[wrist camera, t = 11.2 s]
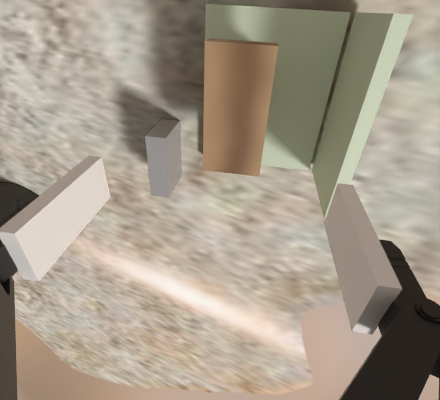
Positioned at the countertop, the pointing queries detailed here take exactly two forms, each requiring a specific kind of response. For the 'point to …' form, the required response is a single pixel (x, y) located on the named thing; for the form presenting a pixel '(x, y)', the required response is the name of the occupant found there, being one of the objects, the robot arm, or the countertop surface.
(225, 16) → the cabinet
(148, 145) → the block
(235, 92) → the shelf board
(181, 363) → the countertop surface
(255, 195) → the countertop surface
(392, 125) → the countertop surface
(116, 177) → the countertop surface
